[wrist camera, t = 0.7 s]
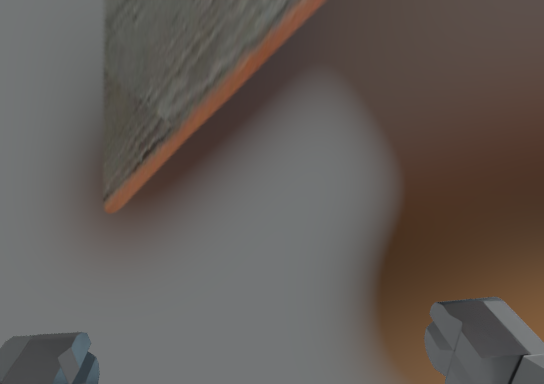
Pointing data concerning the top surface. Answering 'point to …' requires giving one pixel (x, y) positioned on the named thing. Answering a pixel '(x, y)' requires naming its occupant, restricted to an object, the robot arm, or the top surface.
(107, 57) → the top surface
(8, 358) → the robot arm
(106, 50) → the top surface
